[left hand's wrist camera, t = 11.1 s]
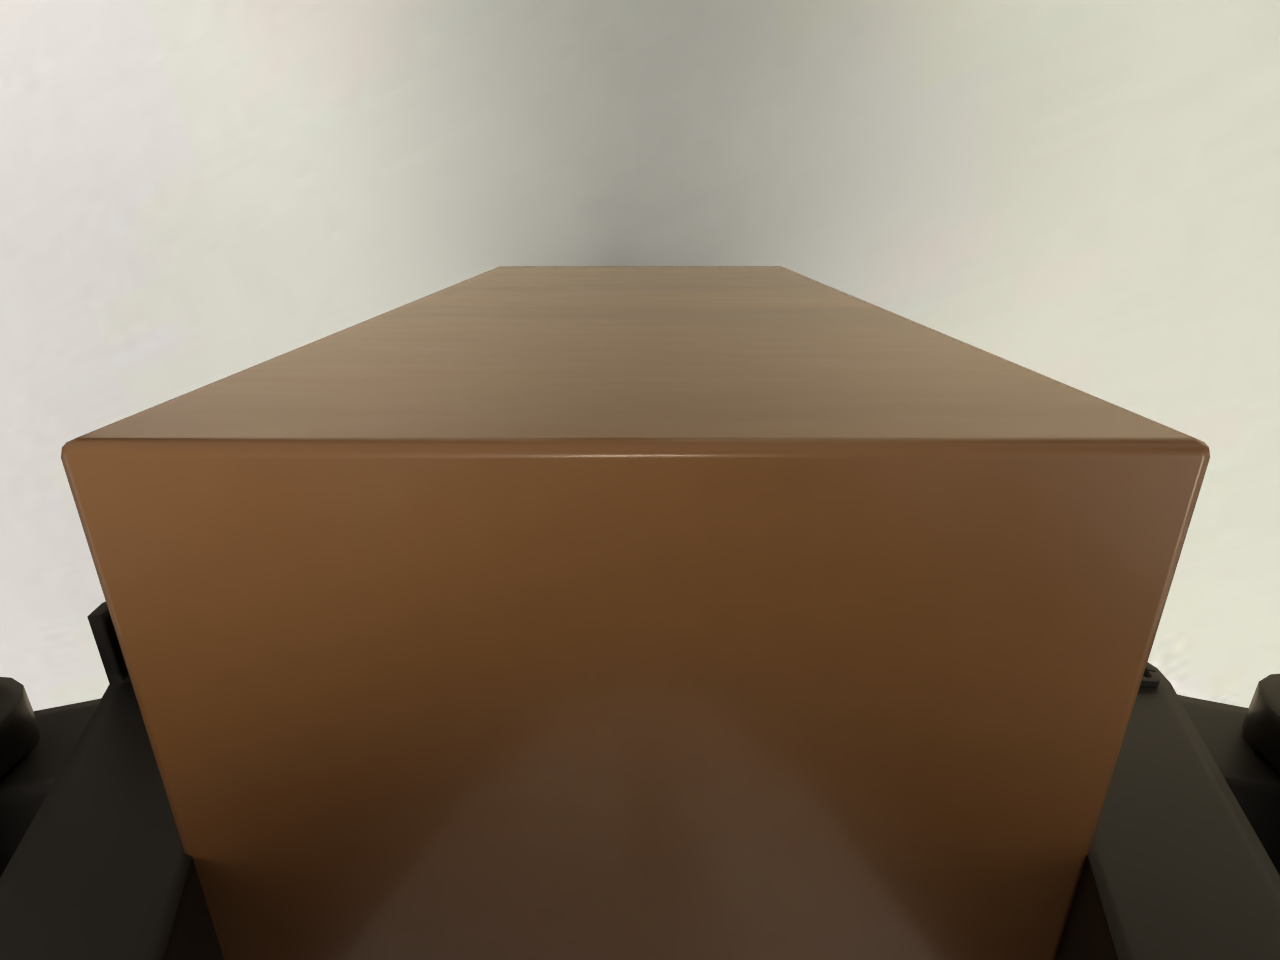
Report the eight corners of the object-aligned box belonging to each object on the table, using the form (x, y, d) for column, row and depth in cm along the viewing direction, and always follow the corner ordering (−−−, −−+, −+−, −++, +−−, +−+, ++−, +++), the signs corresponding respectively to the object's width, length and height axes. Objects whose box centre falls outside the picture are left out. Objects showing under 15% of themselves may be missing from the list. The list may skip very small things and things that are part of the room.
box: (496, 266, 16) (46, 441, 4) (783, 265, 16) (1223, 443, 4) (548, 1000, 25) (460, 1743, 13) (732, 1000, 25) (818, 1744, 13)
